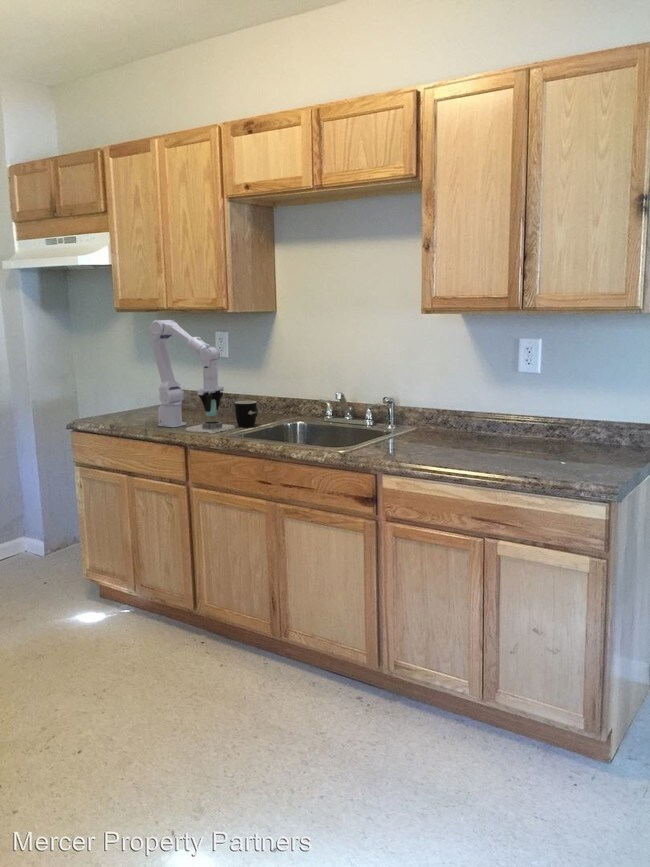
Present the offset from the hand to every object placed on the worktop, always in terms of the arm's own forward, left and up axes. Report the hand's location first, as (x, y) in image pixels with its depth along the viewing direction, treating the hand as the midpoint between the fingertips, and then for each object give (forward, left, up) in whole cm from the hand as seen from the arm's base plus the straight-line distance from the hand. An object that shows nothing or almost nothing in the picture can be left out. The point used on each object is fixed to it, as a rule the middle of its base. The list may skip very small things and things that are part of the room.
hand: (211, 410), depth 293 cm
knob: (0, 0, -2) cm, 2 cm away
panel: (0, -1, -8) cm, 8 cm away
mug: (+8, +14, -8) cm, 18 cm away
